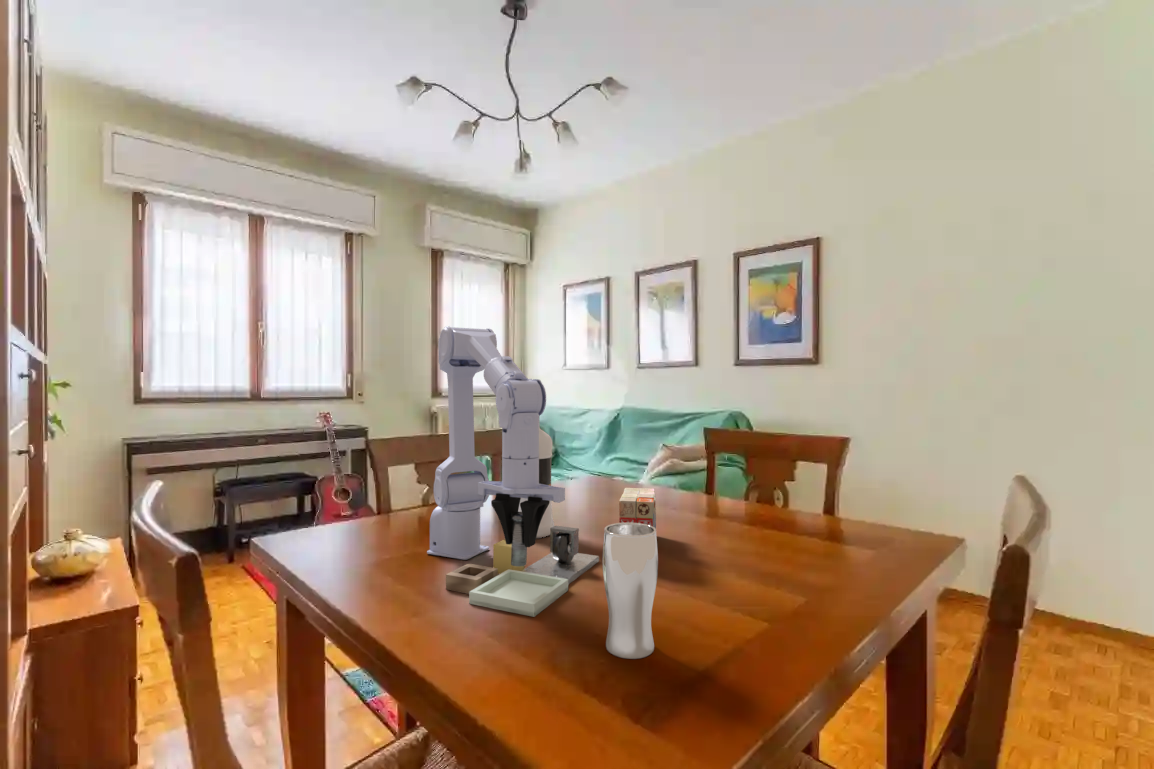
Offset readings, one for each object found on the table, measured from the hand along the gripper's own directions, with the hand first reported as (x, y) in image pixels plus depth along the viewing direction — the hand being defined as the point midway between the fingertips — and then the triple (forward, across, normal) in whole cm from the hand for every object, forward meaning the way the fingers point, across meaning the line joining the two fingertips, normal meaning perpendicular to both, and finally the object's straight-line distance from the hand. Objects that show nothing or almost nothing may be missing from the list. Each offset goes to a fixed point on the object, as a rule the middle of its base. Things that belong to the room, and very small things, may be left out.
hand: (520, 544), depth 86 cm
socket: (+8, -10, +1) cm, 13 cm away
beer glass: (+8, +21, -8) cm, 24 cm away
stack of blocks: (+9, +9, +32) cm, 34 cm away
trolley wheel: (+8, 0, +14) cm, 16 cm away
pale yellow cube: (+8, -8, +10) cm, 15 cm away
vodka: (+8, -16, +33) cm, 37 cm away
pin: (+3, 0, 0) cm, 3 cm away
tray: (+8, 0, 0) cm, 8 cm away
